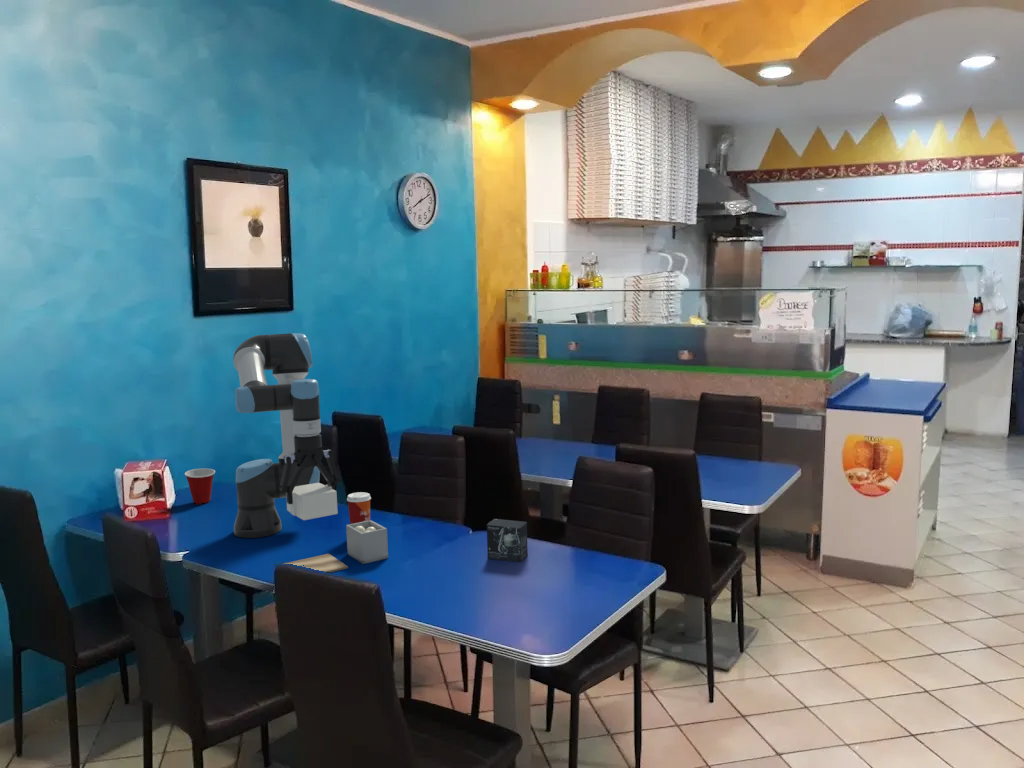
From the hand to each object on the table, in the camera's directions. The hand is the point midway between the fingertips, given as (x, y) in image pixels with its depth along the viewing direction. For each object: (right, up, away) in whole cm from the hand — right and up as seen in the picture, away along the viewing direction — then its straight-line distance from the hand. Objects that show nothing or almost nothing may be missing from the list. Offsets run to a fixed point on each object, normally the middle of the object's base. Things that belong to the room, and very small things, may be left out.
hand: (312, 511), depth 236 cm
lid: (0, 0, 0) cm, 0 cm away
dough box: (+14, -15, +10) cm, 23 cm away
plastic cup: (-60, -9, +76) cm, 97 cm away
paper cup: (+9, -13, +28) cm, 32 cm away
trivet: (0, -16, +2) cm, 17 cm away
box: (+56, -15, +6) cm, 58 cm away
